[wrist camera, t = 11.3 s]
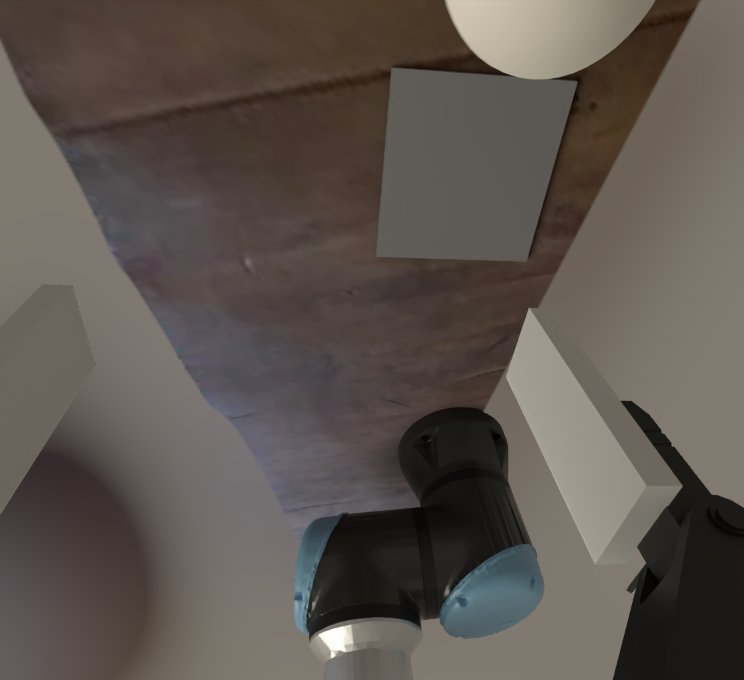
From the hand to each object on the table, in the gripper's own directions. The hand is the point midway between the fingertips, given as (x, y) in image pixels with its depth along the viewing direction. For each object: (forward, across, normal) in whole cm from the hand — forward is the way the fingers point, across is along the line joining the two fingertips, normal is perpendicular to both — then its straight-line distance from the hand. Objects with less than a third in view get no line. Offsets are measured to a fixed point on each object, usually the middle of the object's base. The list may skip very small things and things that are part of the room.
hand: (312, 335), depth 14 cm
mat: (+34, -14, +4) cm, 37 cm away
